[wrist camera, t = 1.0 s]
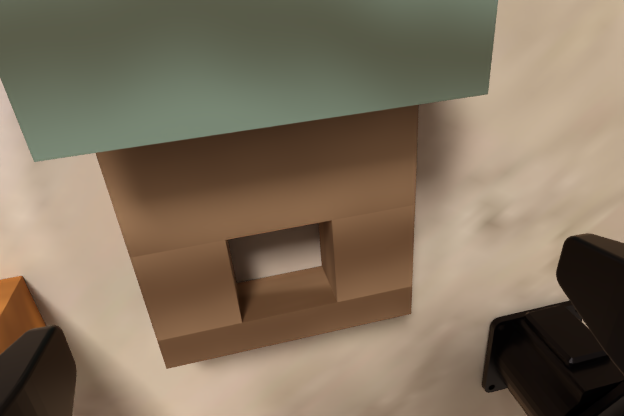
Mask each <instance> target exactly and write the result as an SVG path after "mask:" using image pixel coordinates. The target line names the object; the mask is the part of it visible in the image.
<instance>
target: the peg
mask: <svg viewBox="0 0 624 416" xmlns="http://www.w3.org/2000/svg"><path fill="white" fill-rule="evenodd" d="M45 326H46V325H45V323H44V321H43V319H42V316H41V314H40V312H39V310H38V308H37V306H36V304H35V302H34V300H33V298H32V296H31V294H30V292H29V289H28V287H27V285H26V283H25V281H24V279H23V277H22V276H19V277H13V278H8V279H2V280H0V354H1V353H2V352H4V351H5V350H6V349H7V348H8V347H9V346H10V345H12V344H13V343H14V342H15V341H16V340H17V339H18V338H19V337H21V336H22V335H23V334H24V333H25V332H27V331H28V330H30V329H34V328H39V327H45Z"/></svg>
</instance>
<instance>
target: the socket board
mask: <svg viewBox="0 0 624 416" xmlns="http://www.w3.org/2000/svg"><path fill="white" fill-rule="evenodd" d="M497 6H498V0H0V78H1V81H2V83H3V86H4V88H5V91H6V93H7V95H8V98H9V100H10V103H11V105H12V108H13V110H14V113H15V115H16V118H17V120H18V123H19V125H20V128H21V130H22V133H23V135H24V138H25V140H26V143H27V145H28V148H29V150H30V153H31V155H32V158H33V160H34V162H37V161H44V160H51V159H57V158H64V157H71V156H77V155H84V154H91V153H96V156H97V159H98V162H99V165H100V168H101V171H102V174H103V177H104V180H105V183H106V186H107V189H108V192H109V195H110V198H111V201H112V204H113V207H114V210H115V213H116V216H117V219H118V222H119V225H120V228H121V232H122V235H123V238H124V241H125V244H126V247H127V250H128V253H129V256H130V259H131V262H132V265H133V268H134V271H135V274H136V277H137V280H138V283H139V286H140V289H141V292H142V295H143V298H144V301H145V304H146V307H147V311H148V314H149V317H150V320H151V323H152V326H153V329H154V332H155V335H156V338H157V341H158V344H159V347H160V350H161V353H162V356H163V359H164V362H165V365H166V368H167V369H168V368H172V367H177V366H181V365H186V364H190V363H195V362H199V361H203V360H208V359H212V358H217V357H221V356H226V355H230V354H234V353H239V352H243V351H248V350H252V349H257V348H261V347H266V346H270V345H274V344H279V343H283V342H288V341H292V340H297V339H301V338H305V337H310V336H314V335H319V334H323V333H328V332H332V331H336V330H341V329H345V328H350V327H354V326H359V325H363V324H368V323H372V322H376V321H381V320H385V319H390V318H394V317H399V316H403V315H407V314H411V302H412V275H413V247H414V219H415V191H416V164H417V136H418V108H419V104H426V103H433V102H439V101H446V100H453V99H460V98H466V97H473V96H480V95H486V94H488V88H489V79H490V70H491V60H492V51H493V42H494V33H495V24H496V15H497ZM315 223H318V225H319V237H320V249H321V261H322V266H320V267H315V268H310V269H305V270H300V271H295V272H290V273H285V274H280V275H275V276H270V277H265V278H260V279H255V280H250V281H245V282H240V283H236V278H235V273H234V268H233V263H232V258H231V252H230V247H229V242H228V239H234V238H239V237H245V236H250V235H255V234H261V233H266V232H271V231H277V230H282V229H288V228H293V227H298V226H304V225H309V224H315Z"/></svg>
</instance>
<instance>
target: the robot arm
mask: <svg viewBox="0 0 624 416" xmlns="http://www.w3.org/2000/svg"><path fill="white" fill-rule="evenodd" d="M556 277H557V281H558V283H559V285H560V286H561V288H562V289H563V291H564V292H565V294H566V295H567V297H568V298H569V300H570V301H566V302H562V303H558V304H554V305H549V306H545V307H541V308H537V309H532V310H528V311H524V312H520V313H515V314H511V315H507V316H502V317H499V318H496V319H495V320H493V322H492V323H491V327H490V334H489V341H488V347H487V354H486V361H485V367H484V374H483V381H482V387H483V388H484V390H485V391H486V392H488V393H489V392H494V391H498V390H502V389H505V388H508V389H509V391H510V392H511V394H512V395H513V396H514V398H515V399H516V400H517V402H518V403H519V404H520V406H521V407H522V408H523V410H524V411H525V413H526V414H527V415H528V416H624V243H621V242H618V241H615V240H611V239H608V238H604V237H601V236H598V235H594V234H587V233H586V234H580V235H574V236H570V237H568V238H567V239H566V240H565V242H564V244H563V248H562V252H561V255H560V259H559V263H558V267H557V271H556ZM582 319H583V320H584V322H585V323H586V325H587V326H588V327H586V326H585V325H584V324H583V323H582ZM75 385H76V365H75V361H74V359H73V356H72V353H71V351H70V348H69V346H68V343H67V341H66V338H65V336H64V333H63V331H62V330H61V328H60V327H59V326H56V325H51V326H45V327H39V328H34V329H30V330H28V331H27V332H25V333H24V334H23V335H22V336H21V337H19V338H18V339H17V340H16V341H15V342H14V343H13V344H12V345H10V346H9V347H8V348H7V349H6V350H5V351H4V352H2V353H1V354H0V416H72V412H73V403H74V394H75Z"/></svg>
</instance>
